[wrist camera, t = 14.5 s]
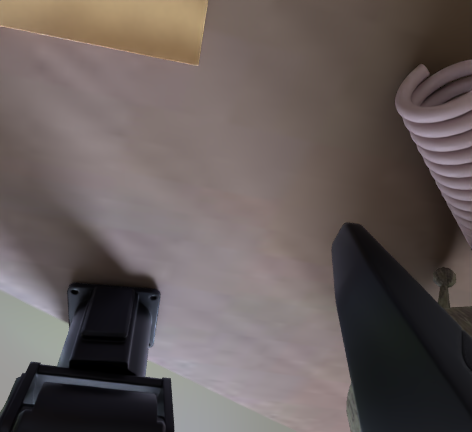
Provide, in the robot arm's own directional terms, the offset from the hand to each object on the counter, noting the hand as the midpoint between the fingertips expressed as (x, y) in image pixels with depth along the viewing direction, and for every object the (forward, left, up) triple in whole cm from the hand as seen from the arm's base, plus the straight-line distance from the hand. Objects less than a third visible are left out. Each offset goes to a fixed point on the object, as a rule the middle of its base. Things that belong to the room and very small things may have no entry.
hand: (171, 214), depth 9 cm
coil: (-2, -19, -13) cm, 23 cm away
